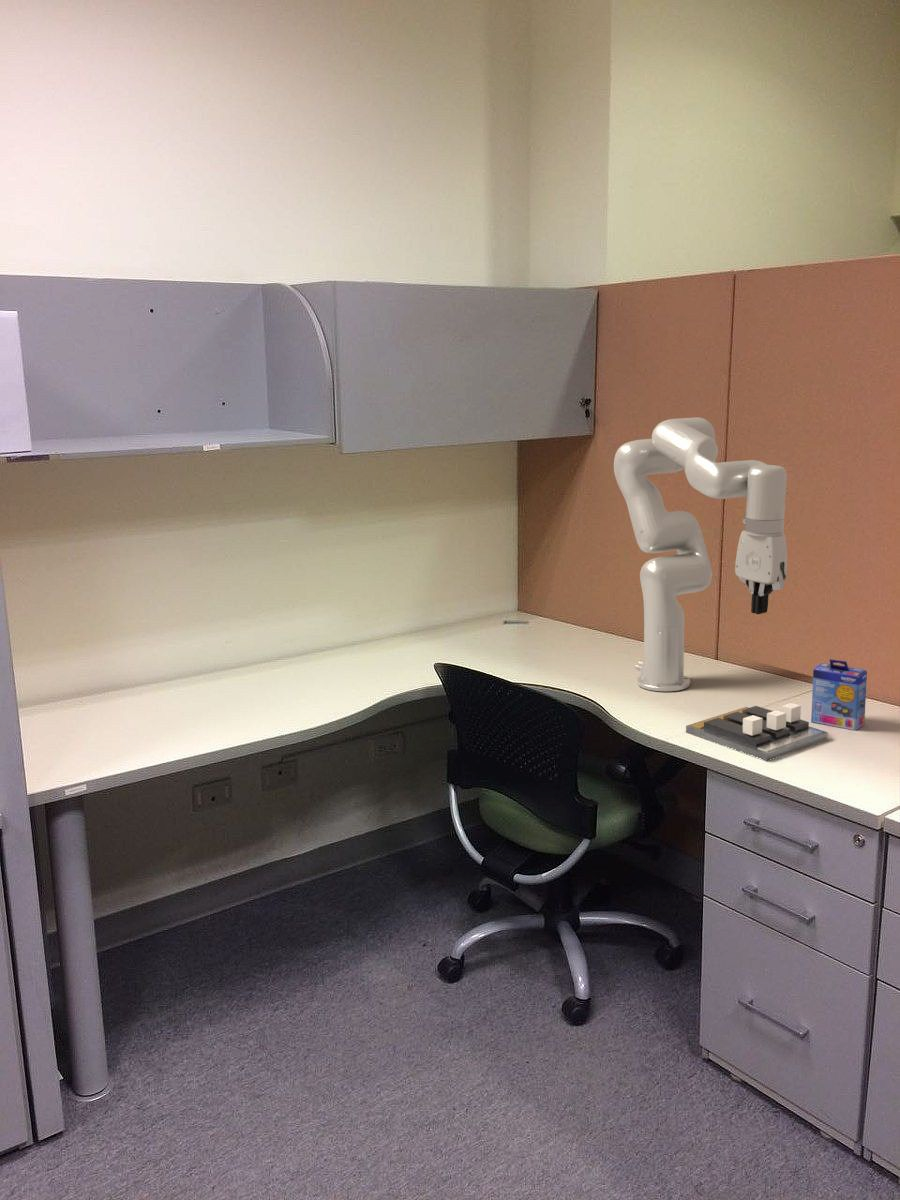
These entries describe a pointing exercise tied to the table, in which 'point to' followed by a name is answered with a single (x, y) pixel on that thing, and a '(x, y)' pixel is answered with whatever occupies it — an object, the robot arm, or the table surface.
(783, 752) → the panel
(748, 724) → the cream upright box
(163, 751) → the table surface
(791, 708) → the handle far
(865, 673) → the ink cartridge box
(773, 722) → the matte ivory cube
